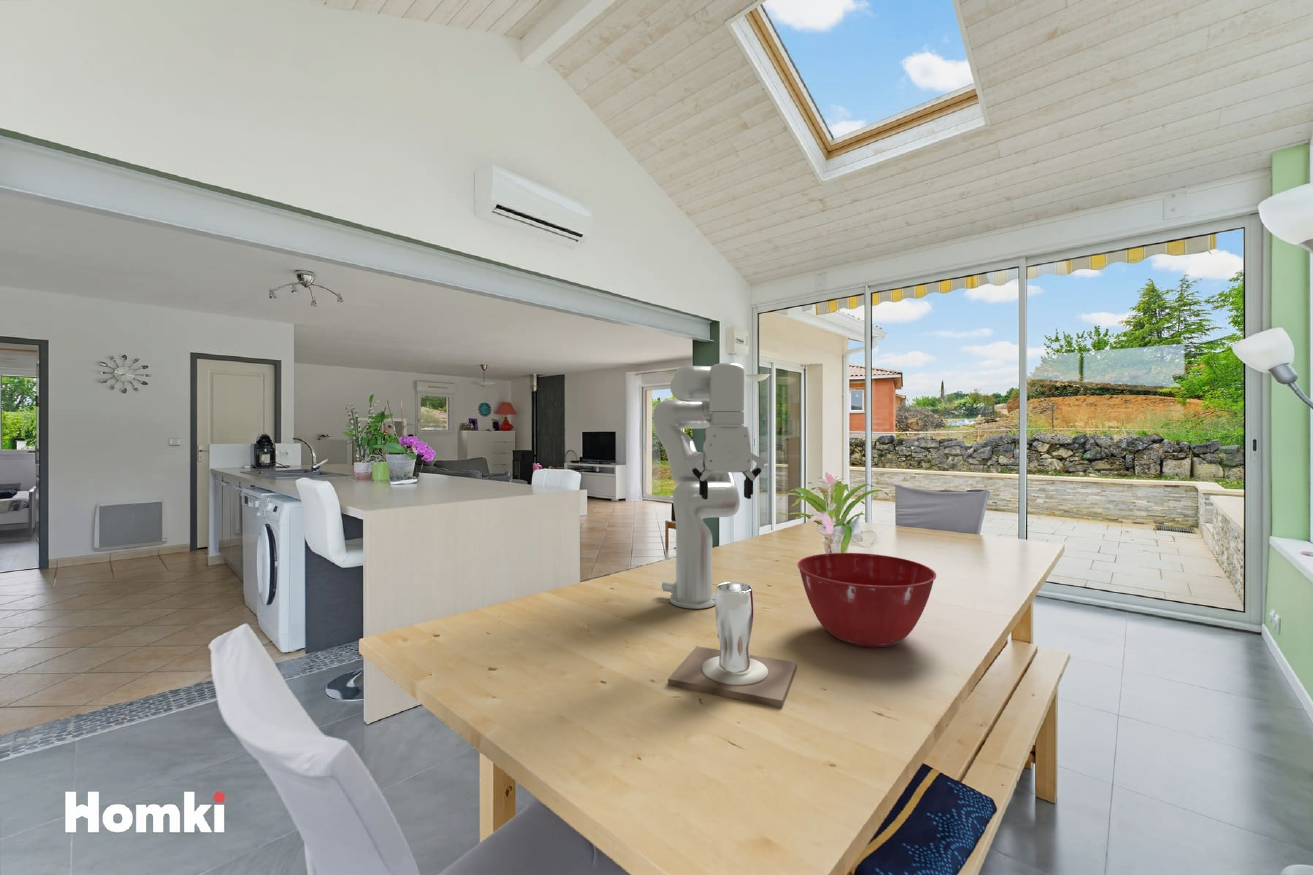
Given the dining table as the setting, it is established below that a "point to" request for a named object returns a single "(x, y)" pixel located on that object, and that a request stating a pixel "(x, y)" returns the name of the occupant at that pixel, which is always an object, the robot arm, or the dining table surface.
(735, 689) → the walnut board
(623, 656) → the dining table surface
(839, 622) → the mixing bowl
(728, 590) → the silver metal tumbler
